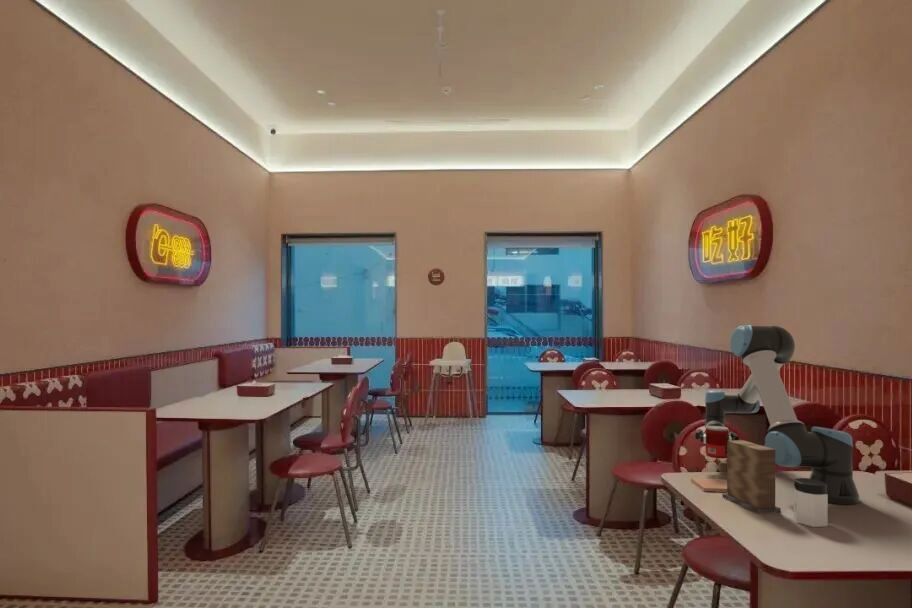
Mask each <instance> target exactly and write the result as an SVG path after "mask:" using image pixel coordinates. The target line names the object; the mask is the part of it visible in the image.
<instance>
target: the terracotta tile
mask: <svg viewBox="0 0 912 608" xmlns="http://www.w3.org/2000/svg"><path fill="white" fill-rule="evenodd" d="M690 481H691V483H692V484H693V485H695V486H696V487H697V486H698V488H699V490H701V489H702V490H703V491H702V490H701V491H702V492H706V491H721V492H720V493H727V479H723V478H699V477H698V478H697V477H696V478H695V477H692V478H690Z"/></svg>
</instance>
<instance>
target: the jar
mask: <svg viewBox="0 0 912 608" xmlns="http://www.w3.org/2000/svg"><path fill="white" fill-rule="evenodd" d="M793 485H794V486H793V518H794V520H795V522H796V523H797V524H800V525H805V526H808V527H813V528H825V527H828V524H829V523H828V511H829V510H828V509H829V505H828V503H829V502H828V495H827V484H826V483H825V482H822V481H819V480H815V479H809V477H797V478H795V479H794V483H793Z"/></svg>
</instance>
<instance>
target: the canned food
mask: <svg viewBox="0 0 912 608" xmlns="http://www.w3.org/2000/svg"><path fill="white" fill-rule="evenodd" d="M705 430H706V444H705V455H706V456H707V457H709V458H713V459H727V441H729V434H730V429H729V427H727V426H725V427H722V426H706V429H705Z"/></svg>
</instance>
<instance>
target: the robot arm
mask: <svg viewBox="0 0 912 608" xmlns="http://www.w3.org/2000/svg"><path fill="white" fill-rule="evenodd" d="M795 343H796V342H795V339H794V338H793V336H792V334H791V333H790V332H789V331H788V330H787V329H785V328H784V327H781V326H778V325H750V324H748V325H740V326H738V327H736V328H735V329H734V330H733V332H732V333H731V338H730V345H729V346H730V350H731V353H732V354H733V355H734V356H736V357H740V358H741V360H742V363H743V365H746V366H747V367H748V368H749V370H750V372H751V374H750V375H749V377H748V378H747V380H746V381H745V383H744V385H743V386H742V388H741V389H740V391H739V392H738V394H736V395H735V394H733V395H731V394H730V395H729V394H728V395H727V394H726V392H724V391H723V390H717V389H715V390H714V389H713V390H712V389H711V390H710V389H709V390H707V391H706V392H705V400H704V402H705V405H704V406H705V422H704V429H705V428H706V426H722V427H726V426H725V424H726V423H725V422H726V421H725V420H726V417H725V416H726V414H755V413H757V412H759V410H760V406H761V403H762V406H763V408H764V411H765V413H766V417H767V419H768V422H769V424H770V426H769V427H768V428H767V434H766V436H765V438H764V442H765V443H764V446H765V447H768V448H772V449H775V465H778V466H780V467H783V468H784V467H785V468H786V467H787V468H793V469H794V468H811V473H810V475H809V477H808V478H809V479H815V480H819V481H822V482H825V483H826V484H827V495H828V503H831V504H837V505H856V504H859V503H860V494H859V491H858V488H857V487H856V482H855V480H854V477H853V476H854V475H853V473H854V471H853V470H854V466H853V465H854V463H853V462H854V460H853V459H854V458H853V457H854V454H853V453H854V444H853V437H852V435H851V434H850V433H848V432H845V431H842V430H837V429H833V428H827V427H821V426H812V427H811V430H810V431H808V430H807V427H806V425H805V423H804V422H802V421H801V420H798V418H797V415H796V412H795V411H794V408H793V405H792V403H791V400H790V398H789V396H788V392H787V390H786V386H785V384H784V383H783V379H782V378H781V375H780V369H781V368H782V366H783V365H787V364H788V363H789V361H790V360H791V359H792V357H793V356H794V353H795V348H796V347H795V345H796V344H795ZM760 400H761V401H760ZM694 433H695V434H694V437H695V438H694V439H695V440H699V439H700V441H699V442H701V443H703V444H705V445H706V429H705V430H703V429H701V428H698V429H697V431H696V432H694ZM732 440H740V436H739V435H738V434H736V432H735V431H729V441H732Z"/></svg>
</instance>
